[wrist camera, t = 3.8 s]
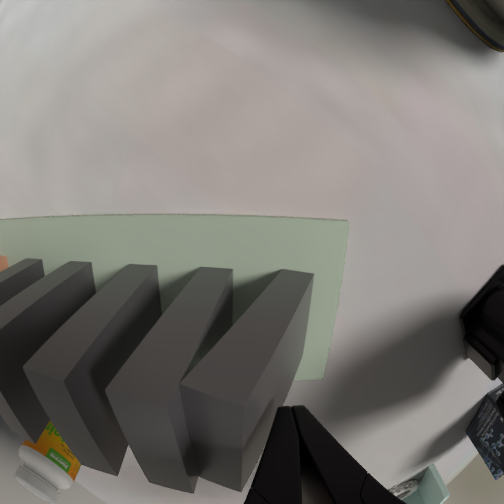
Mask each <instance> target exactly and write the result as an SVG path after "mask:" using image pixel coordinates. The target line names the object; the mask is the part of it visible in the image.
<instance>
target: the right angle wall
mask: <svg viewBox="0 0 504 504" xmlns="http://www.w3.org/2000/svg"><path fill="white" fill-rule="evenodd" d="M416 481H417V480H414V481H412V480H411V481H409V482H404V483H402V484H400V485H399V486H394V487H393V488H392V489H390V490H389V491H390V492H391V493H392V494H394V495H395V496H397V497H398V498H399V499H401V500H402V501H404V502H405V503H407V504H442V503H443V502H444V501H445V500H446V499H447V498H448V497H449V496H450V494H449V492H448V490H447V488H446V486H445V484H444V482H443V480H442V478H441V476H440V474H439V472H438V470H437V468H436V467H435V465H434V463H433V464H432V465H430V466H429V467H428V469H427V471H426V473H425V475H424V477H423V479H422V481H421V483H420V484H419V486H418V484H416V483H417V482H418V481H417V482H416Z"/></svg>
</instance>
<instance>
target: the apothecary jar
mask: <svg viewBox="0 0 504 504" xmlns="http://www.w3.org/2000/svg"><path fill="white" fill-rule="evenodd" d="M446 1H447V3H448V4H449V5H450V7H451V8H452V9H453V10H454V12H455V13H456V14H457V15H458V16H459V17H460V19H461V20H462V21H463V22H464V23H465V24H466V25H467V26H468V27H469V28H470V29H471V30H472V31H473V32H474V33H475V34H476V35H477V36H478V37H479V38H480V39H481V40H482V41H484V42H485V43H486V44H488V45H489V46H490V47H492V48H494V49H495V50H498V51H501V52H504V0H446Z"/></svg>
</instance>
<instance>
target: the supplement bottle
mask: <svg viewBox="0 0 504 504" xmlns="http://www.w3.org/2000/svg"><path fill="white" fill-rule="evenodd" d="M19 456H20V459H21V460H22V462H23V466H19V467H18V468H17V471H16V473H15V475H14V477H15V479H16V480H17V481H19V483H20V484H22V485H23V486H24V487H25V488H27V489H28V490H29V491H31V492H32V493H33V494H35V495H36V496H38V497H40V498H41V499H43V500H45V501H47V502H49V503H51V504H55V503H56V501H57V499H58V497H59V494H60V493H59V492H58V489H59V488H61V489H68V488H70V487H71V486H72V484H73V482H74V480H75V478H76V476H77V473H78V471H79V469H80V466H81V464H80V462H79V461H78V460H77V458H76V457H75V456H74V454H73V453H72V452H71V450H70V449H69V448H68V446H67V445H66V443H65V442H64V440H63V439H62V437H61V436H60V434H59V433H58V431H57V430H56V428H55V427H54V425H53V424H52V422H51V420H50V421H49V423H48V425H47V426H46V428H45V430H44V431H43V433H42V434H41V436H40V438H39V440H38V441H37V443H36V444H34V443H32V442H30V441H28V440H26V439H25V440H24V442H23V444H22V445H21V447H20V449H19Z"/></svg>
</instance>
